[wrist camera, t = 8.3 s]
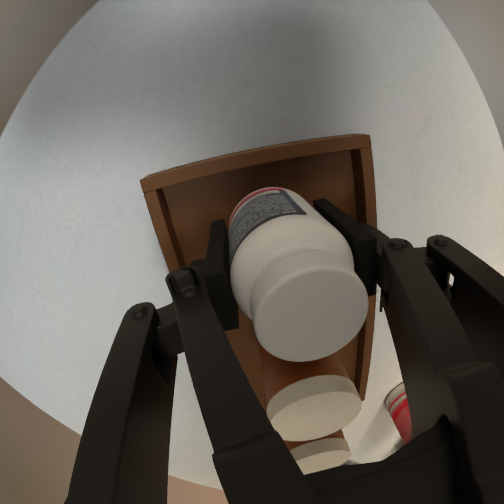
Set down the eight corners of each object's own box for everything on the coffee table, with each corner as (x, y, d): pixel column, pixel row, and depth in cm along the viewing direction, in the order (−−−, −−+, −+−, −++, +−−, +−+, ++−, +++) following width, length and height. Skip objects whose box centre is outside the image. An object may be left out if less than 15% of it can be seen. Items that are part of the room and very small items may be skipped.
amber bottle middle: (247, 301, 20) (261, 407, 12) (317, 285, 20) (366, 379, 12) (260, 350, 22) (276, 447, 14) (321, 336, 22) (357, 426, 14)
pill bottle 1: (215, 251, 17) (207, 356, 9) (248, 171, 15) (274, 217, 7) (291, 278, 18) (333, 382, 10) (328, 207, 17) (410, 277, 8)
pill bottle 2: (383, 411, 30) (411, 474, 20) (385, 389, 28) (420, 460, 18) (421, 392, 30) (454, 450, 20) (427, 368, 28) (467, 431, 18)
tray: (148, 175, 16) (139, 180, 15) (356, 133, 16) (370, 134, 14) (238, 415, 27) (239, 430, 25) (358, 387, 27) (364, 400, 25)
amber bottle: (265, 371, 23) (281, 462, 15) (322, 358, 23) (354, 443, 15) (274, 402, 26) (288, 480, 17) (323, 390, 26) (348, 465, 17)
